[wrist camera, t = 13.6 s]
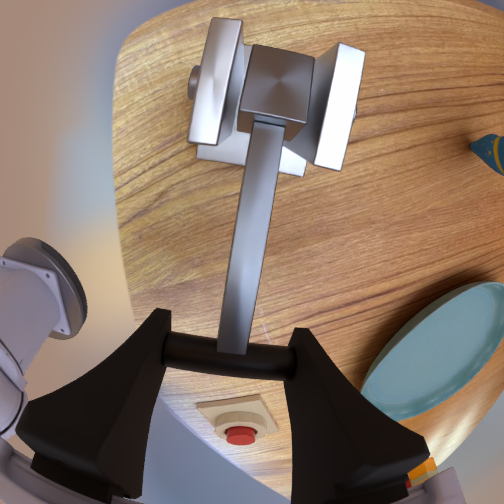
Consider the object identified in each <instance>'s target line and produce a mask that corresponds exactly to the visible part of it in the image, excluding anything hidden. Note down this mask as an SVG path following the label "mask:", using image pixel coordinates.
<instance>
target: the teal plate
mask: <svg viewBox="0 0 504 504" xmlns="http://www.w3.org/2000/svg"><path fill="white" fill-rule="evenodd" d="M503 336H504V284H502V283H499V282H495V281H479V282H474V283H470V284H467V285H464V286H461V287H459V288H457V289H455V290H452V291H450V292H449V293H447V294H445V295H443V296H442V297H440V298H438V299H437V300H435V301H434V302H432V303H431V304H429V305H428V306H426V307H425V308H424V309H423V310H421V311H420V312H419V313H417V314H416V315H415V316H414V317H413V318H412V319H410V320H409V321H408V322H407V323H406V324H405V325H404V326H403V327H402V328H401V329H400V330H399V331H398V332H397V333H396V334H395V335H394V336H393V337H392V338H391V340H390V341H389V342H388V343H387V344H386V345H385V347H384V348H383V349H382V351H381V352H380V353H379V355H378V356H377V357H376V359H375V360H374V362H373V364H372V365H371V367H370V369H369V371H368V372H367V374H366V377H365V379H364V381H363V384H362V387H361V390H360V393H361V394H362V395H363V396H364V397H365V398H366V399H367V400H368V401H370V402H371V403H372V404H373V405H374V406H376V407H377V408H378V409H379V410H381V411H382V412H383V413H384V414H386V415H387V416H389V417H390V418H391V419H393V420H395V421H400V420H404V419H408V418H411V417H414V416H416V415H419V414H421V413H423V412H426V411H428V410H430V409H432V408H434V407H435V406H437V405H439V404H440V403H442V402H444V401H445V400H447V399H448V398H450V397H451V396H452V395H454V394H455V393H456V392H458V391H459V390H460V389H461V388H463V387H464V386H465V385H466V384H467V383H468V382H469V381H470V380H471V379H472V378H473V377H474V376H475V375H476V374H477V373H478V372H479V371H480V370H481V369H482V368H483V367H484V365H485V364H486V363H487V362H488V360H489V359H490V358H491V356H492V355H493V354H494V352H495V351H496V349H497V347H498V346H499V344H500V342H501V340H502V338H503Z"/></svg>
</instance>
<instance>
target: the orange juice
mask: <svg viewBox="0 0 504 504" xmlns="http://www.w3.org/2000/svg"><path fill="white" fill-rule="evenodd" d="M436 474H438V470H437V467H436V465H435V462H434V459H433V457H432V458H428V459H427V460H426V461H425V462H423V463H422V464H421V465H419V466H418V467H416V468H415V469H413V470H411V471H410V472H408V475H409V478H410V482H411V485H412V487H413V486H415V485H418V484H420V483H423V482H424V481H425V480H427V479H428V478H430V477H432V476H434V475H436Z"/></svg>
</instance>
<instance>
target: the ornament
mask: <svg viewBox="0 0 504 504" xmlns="http://www.w3.org/2000/svg"><path fill="white" fill-rule="evenodd" d="M470 149H471V150H472V151H473V152H474V153H475V154H476V155H477V156H479V157H480V158H481V159H482V160H483V161H484V162H485V163H486V164H487V165H488V166H490V167H491V168H492V169H493V170H494V171H496V172H497V173H499V174H501V175H503V176H504V136H502V137H500V136H498V135H495V134H489V135H486V136H484V137H482V138H481V139H479V140H477V141H474V142H472V143H471V144H470Z"/></svg>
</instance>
